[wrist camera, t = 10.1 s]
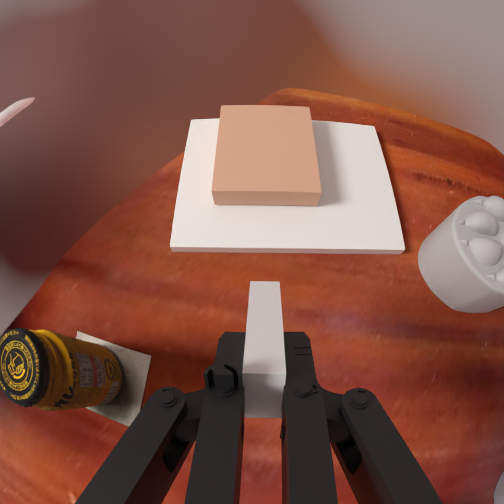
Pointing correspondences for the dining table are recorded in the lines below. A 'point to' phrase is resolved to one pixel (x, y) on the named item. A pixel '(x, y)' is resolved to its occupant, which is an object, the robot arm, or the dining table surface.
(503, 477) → the pillar candle
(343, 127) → the board
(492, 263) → the lumpy-topped squat cylinder
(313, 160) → the tile
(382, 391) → the dining table surface
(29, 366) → the condiment
